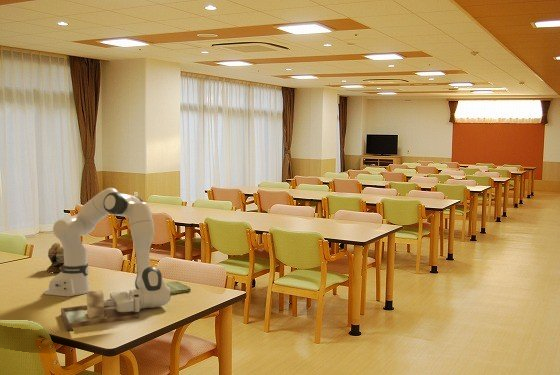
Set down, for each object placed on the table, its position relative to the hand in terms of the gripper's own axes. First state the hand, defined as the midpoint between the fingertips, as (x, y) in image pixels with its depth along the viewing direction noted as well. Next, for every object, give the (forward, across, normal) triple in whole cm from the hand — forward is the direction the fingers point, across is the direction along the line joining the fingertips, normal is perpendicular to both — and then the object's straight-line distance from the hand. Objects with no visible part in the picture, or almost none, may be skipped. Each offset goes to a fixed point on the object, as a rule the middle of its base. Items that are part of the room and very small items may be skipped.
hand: (102, 303), depth 250 cm
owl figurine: (+9, -100, +7) cm, 101 cm away
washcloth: (-40, -32, +7) cm, 52 cm away
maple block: (+3, 0, +5) cm, 6 cm away
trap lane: (+1, 0, +6) cm, 6 cm away
